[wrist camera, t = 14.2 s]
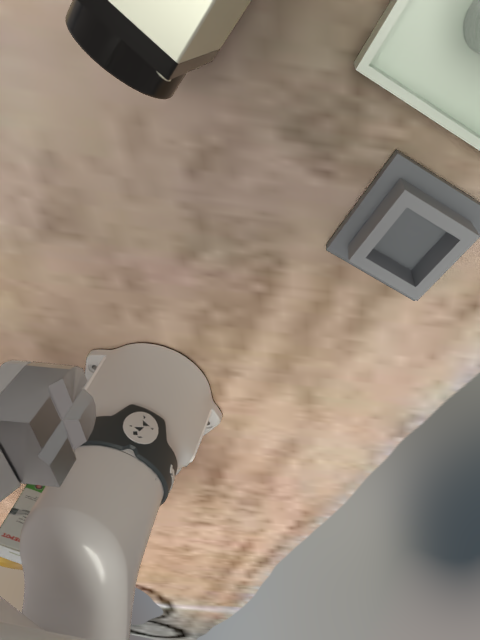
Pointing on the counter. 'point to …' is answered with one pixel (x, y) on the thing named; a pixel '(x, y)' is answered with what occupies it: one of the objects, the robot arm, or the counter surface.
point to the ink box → (17, 522)
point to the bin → (427, 62)
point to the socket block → (407, 227)
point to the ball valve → (153, 37)
